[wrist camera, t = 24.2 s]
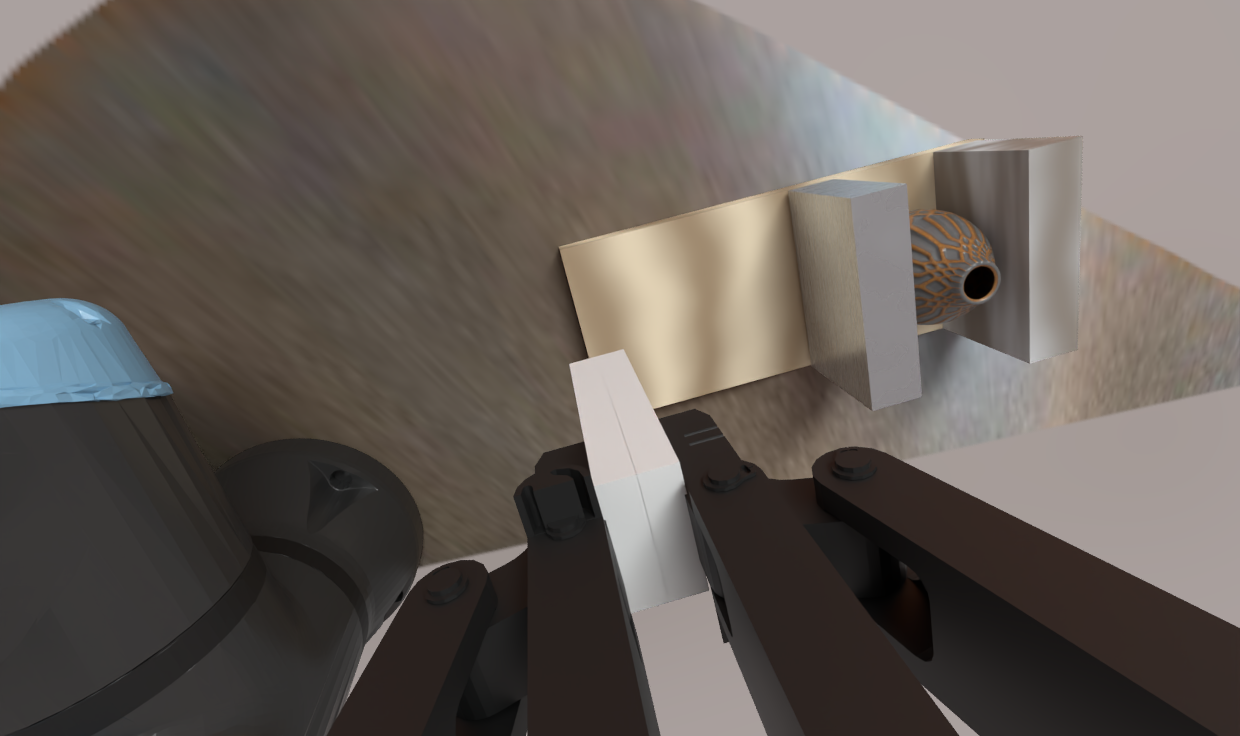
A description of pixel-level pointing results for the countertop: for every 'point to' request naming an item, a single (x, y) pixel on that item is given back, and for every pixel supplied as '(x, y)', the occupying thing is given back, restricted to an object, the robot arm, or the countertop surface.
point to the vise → (769, 276)
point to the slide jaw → (859, 287)
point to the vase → (949, 266)
